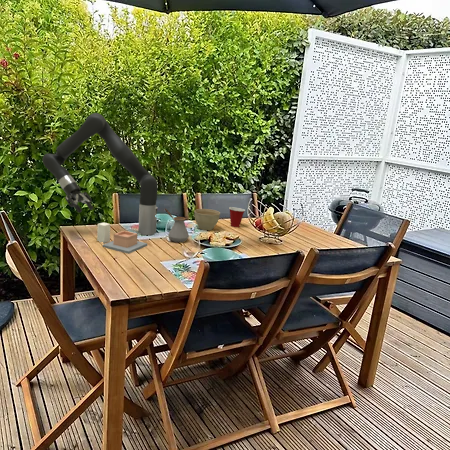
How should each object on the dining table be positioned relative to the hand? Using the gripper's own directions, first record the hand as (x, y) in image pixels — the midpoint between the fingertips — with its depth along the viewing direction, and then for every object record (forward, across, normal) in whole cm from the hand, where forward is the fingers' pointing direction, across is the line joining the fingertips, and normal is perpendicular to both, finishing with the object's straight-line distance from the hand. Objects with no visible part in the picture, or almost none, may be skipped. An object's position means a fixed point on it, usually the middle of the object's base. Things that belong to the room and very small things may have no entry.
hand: (86, 210), depth 215 cm
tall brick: (+19, 0, +2) cm, 19 cm away
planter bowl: (+40, +60, -20) cm, 75 cm away
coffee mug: (+18, +48, +4) cm, 51 cm away
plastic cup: (+49, +78, -29) cm, 97 cm away
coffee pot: (+36, +29, -16) cm, 49 cm away
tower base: (+28, +1, -7) cm, 29 cm away
